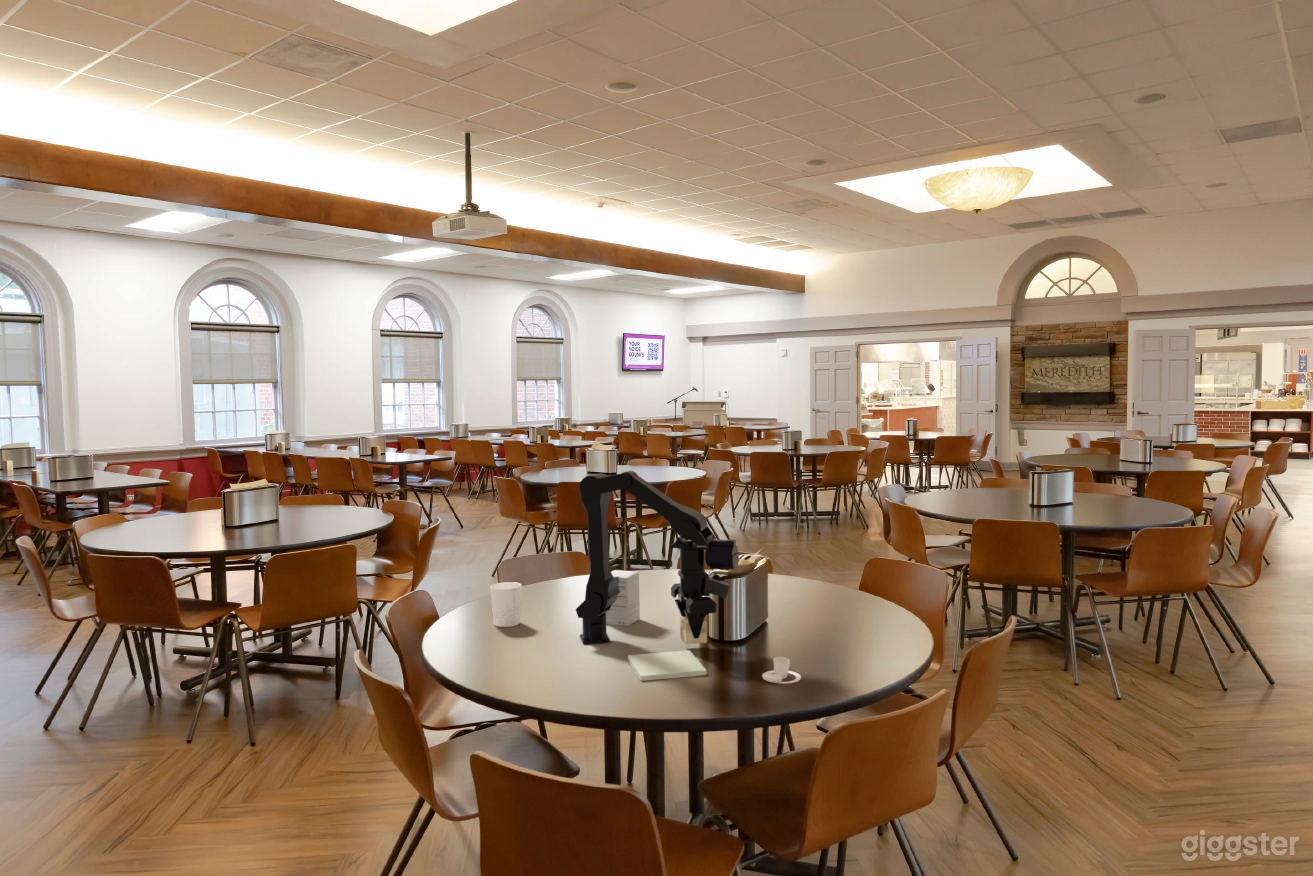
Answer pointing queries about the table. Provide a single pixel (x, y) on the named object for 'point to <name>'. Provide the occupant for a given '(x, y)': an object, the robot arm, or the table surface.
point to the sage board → (666, 665)
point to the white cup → (506, 603)
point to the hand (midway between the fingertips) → (693, 634)
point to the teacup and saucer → (780, 671)
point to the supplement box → (625, 600)
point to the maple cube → (687, 633)
